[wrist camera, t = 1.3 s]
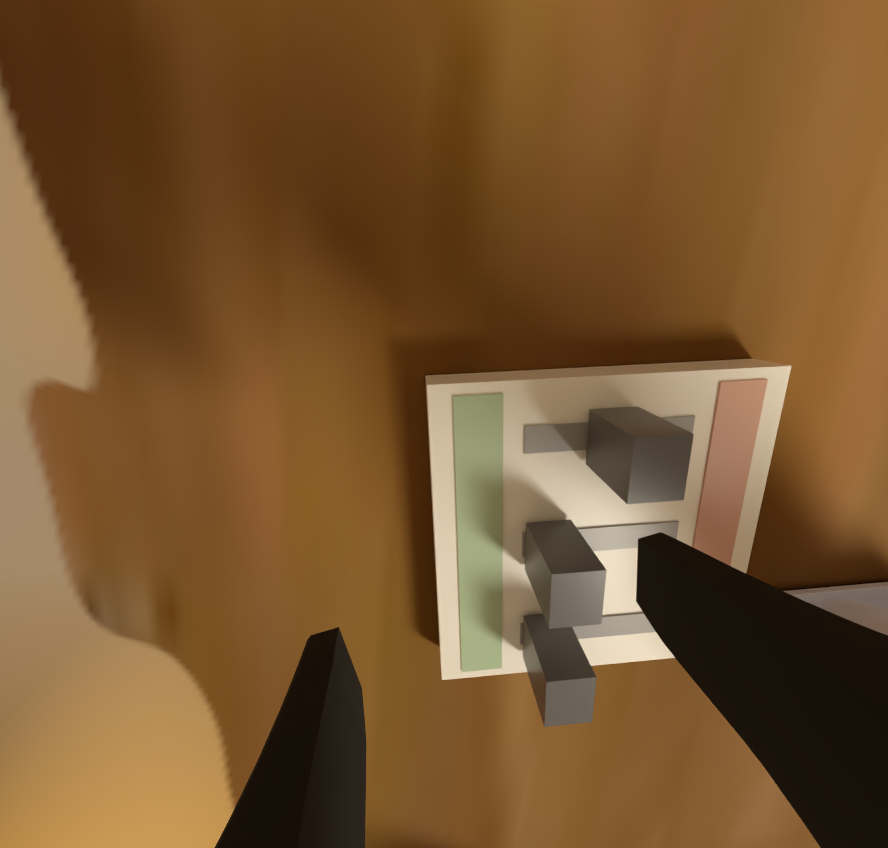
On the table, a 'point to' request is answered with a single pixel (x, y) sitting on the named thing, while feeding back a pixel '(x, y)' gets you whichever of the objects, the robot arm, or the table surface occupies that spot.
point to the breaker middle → (564, 574)
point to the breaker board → (582, 493)
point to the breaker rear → (558, 672)
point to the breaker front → (638, 454)
